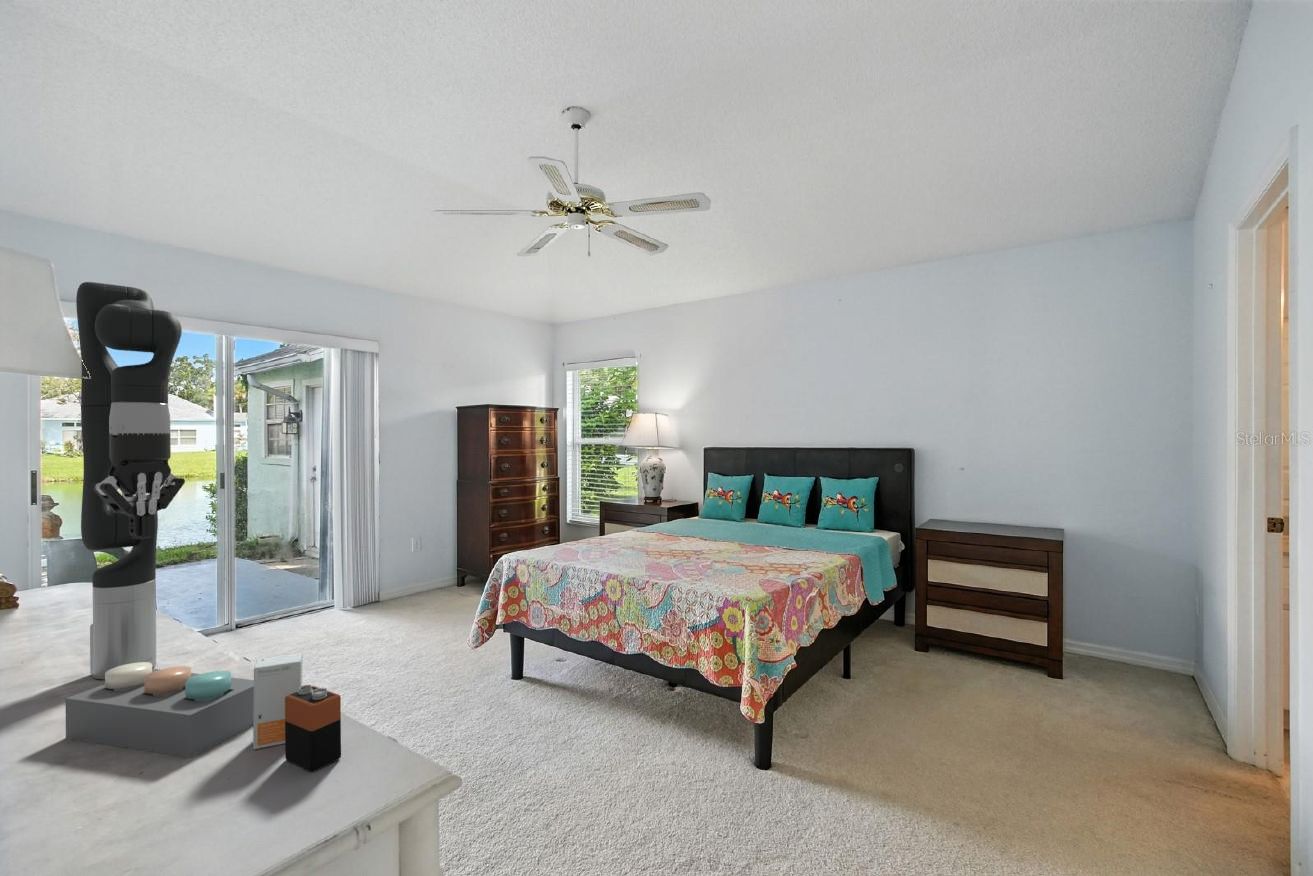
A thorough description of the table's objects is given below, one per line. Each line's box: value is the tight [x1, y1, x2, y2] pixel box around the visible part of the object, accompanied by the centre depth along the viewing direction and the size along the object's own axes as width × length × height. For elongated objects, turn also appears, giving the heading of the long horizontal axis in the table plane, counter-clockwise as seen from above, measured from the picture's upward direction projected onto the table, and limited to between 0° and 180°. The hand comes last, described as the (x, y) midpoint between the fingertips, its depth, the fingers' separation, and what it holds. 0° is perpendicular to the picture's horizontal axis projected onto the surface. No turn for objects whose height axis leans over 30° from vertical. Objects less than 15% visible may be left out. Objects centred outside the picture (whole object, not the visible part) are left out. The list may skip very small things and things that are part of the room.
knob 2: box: [185, 670, 232, 702], centre depth 91 cm, size 6×6×8 cm
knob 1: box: [104, 662, 153, 692], centre depth 95 cm, size 6×6×8 cm
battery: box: [284, 684, 342, 772], centre depth 84 cm, size 4×7×10 cm, turn 60°
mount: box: [65, 668, 254, 758], centre depth 93 cm, size 24×12×6 cm, turn 76°
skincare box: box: [252, 652, 304, 750], centre depth 90 cm, size 6×4×12 cm
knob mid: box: [144, 665, 192, 697], centre depth 93 cm, size 6×6×8 cm
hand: (141, 538), depth 97 cm, fingers closed
